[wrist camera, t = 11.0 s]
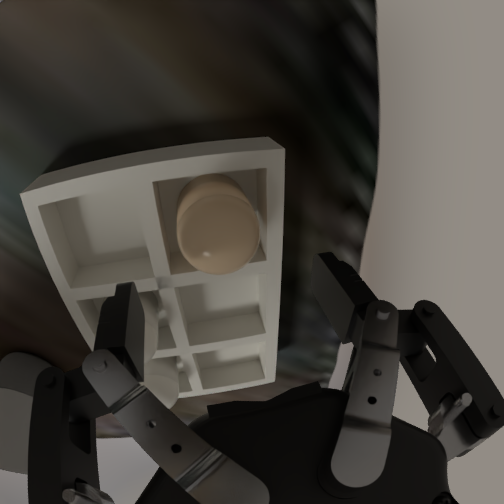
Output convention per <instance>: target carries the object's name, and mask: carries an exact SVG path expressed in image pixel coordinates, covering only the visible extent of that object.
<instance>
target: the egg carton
mask: <svg viewBox="0 0 504 504" xmlns="http://www.w3.org/2000/svg"><path fill="white" fill-rule="evenodd" d="M211 173H216V174H222V175H225V176H228V177H230V178H232V179H233V180H235V181H236V182H237V183H238V184H239V185H240V186H241V188H242V190H243V191H244V193H245V195H246V197H247V199H248V200H249V202H250V204H251V206H252V208H253V209H254V211H255V213H256V215H257V218H258V220H259V224H260V232H261V234H260V242H259V246H258V249H257V251H256V253H255V255H254V256H253V258H252V259H251V260H250V261H249V262H248V263H247V264H246V265H245V266H244V267H243V268H241V269H239V270H238V271H235V272H233V273H230V274H226V275H212V274H207V273H204V272H202V271H200V270H198V269H196V268H195V267H193V266H192V265H191V264H190V263H189V262H188V261H187V260H186V259H185V257H184V256H183V254H182V252H181V250H180V248H179V245H178V240H177V200H178V197H179V194H180V192H181V190H182V189H183V188H184V186H185V185H186V184H187V183H189V182H190V181H191V180H193V179H194V178H196V177H198V176H201V175H204V174H211ZM284 181H285V148H283V147H282V146H281V145H279V144H278V143H276V142H275V141H274V140H272V139H271V138H269V137H257V138H243V139H231V140H220V141H210V142H201V143H193V144H185V145H178V146H171V147H164V148H158V149H152V150H146V151H140V152H135V153H130V154H124V155H119V156H114V157H110V158H105V159H100V160H96V161H92V162H87V163H83V164H79V165H75V166H71V167H67V168H64V169H60V170H56V171H53V172H49V173H46V174H42V175H40V176H39V177H38V178H37V179H36V180H35V181H33V182H32V183H31V184H30V185H29V186H28V187H27V188H26V189H25V190H24V191H22V192H21V193H20V196H21V199H22V202H23V205H24V209H25V212H26V215H27V217H28V220H29V223H30V226H31V229H32V231H33V234H34V237H35V239H36V242H37V244H38V247H39V249H40V252H41V254H42V256H43V259H44V261H45V263H46V266H47V268H48V270H49V272H50V275H51V277H52V279H53V281H54V283H55V285H56V287H57V289H58V291H59V293H60V295H61V297H62V299H63V301H64V303H65V305H66V307H67V309H68V311H69V313H70V314H71V316H72V318H73V320H74V322H75V323H76V325H77V327H78V329H79V330H80V332H81V334H82V335H83V337H84V339H85V340H86V342H87V344H88V345H89V347H90V349H91V350H92V352H93V349H94V343H95V337H96V331H97V326H98V321H99V317H100V311H101V306H102V303H103V299H104V297H109V296H114V295H115V290H116V285H117V284H118V283H125V282H132V281H133V282H134V283H135V285H136V288H137V291H138V293H139V292H146V291H152V292H153V293H154V294H155V296H156V297H157V300H158V305H159V307H158V346H157V350H156V352H155V354H154V356H153V357H152V359H154V358H163V357H171V356H177V369H178V381H179V396H178V398H182V397H190V396H198V395H205V394H212V393H218V392H224V391H230V390H236V389H241V388H246V387H251V386H256V385H261V384H266V383H270V382H275V372H276V358H277V343H278V327H279V310H280V291H281V270H282V246H283V218H284Z"/></svg>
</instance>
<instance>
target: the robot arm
mask: <svg viewBox="0 0 504 504" xmlns="http://www.w3.org/2000/svg"><path fill="white" fill-rule="evenodd" d="M311 289H312V292H313V294H314V296H315V298H316V299H317V301H318V303H319V304H320V306H321V308H322V309H323V311H324V313H325V314H326V316H327V318H328V320H329V321H330V323H331V325H332V326H333V328H334V330H335V332H336V333H337V335H338V337H339V339H340V340H341V342H342V344H346V343H350V342H352V343H353V345H354V347H353V350H352V354H351V358H350V362H349V366H348V370H347V373H346V377H345V381H344V384H343V387H342V390H337V389H331V388H321V387H320V384H319V382H318V381H317V382H313V383H310V384H306V385H302V386H299V387H295V388H292V389H290V390H288V391H286V392H284V393H282V394H280V395H278V396H276V397H274V398H272V399H270V400H268V401H232V402H226V403H220V404H214V405H208V406H207V409H208V413H207V414H204V415H202V416H200V417H198V418H197V419H195V420H194V421H192V422H191V423H190V424H189V425H188V426H187V425H186V424H185V423H183V422H182V421H181V420H180V419H179V418H178V417H177V416H176V415H175V414H173V413H172V412H171V411H170V410H169V409H168V408H167V407H166V406H165V405H164V404H163V403H162V402H161V401H160V400H159V399H158V398H157V397H156V396H155V395H154V394H153V393H152V392H151V391H150V390H149V389H148V388H147V387H145V386H144V385H143V386H142V385H141V384H140V383H139V382H144V337H145V315H144V310H143V306H142V303H141V300H140V297H139V294H138V291H137V288H136V285H135V283H134V282H133V281H132V282H125V283H118V284H117V285H116V290H115V295H114V296H110V297H107V299H106V300H105V301H104V303H103V304H102V306H101V311H100V317H99V321H98V323H99V324H98V326H97V331H96V337H95V343H94V349H93V352H91V353H90V354H89V355H87V357H86V358H85V359H84V361H83V364H82V366H81V367H79V368H77V369H74V370H71V371H68V372H66V373H63V371H62V370H61V369H60V368H58V367H48V368H45V369H44V370H42V371H41V372H40V373H39V375H38V376H37V379H36V382H35V388H34V395H33V402H32V410H31V418H30V429H29V443H28V499H29V504H115V503H114V501H113V500H112V498H111V497H110V496H109V495H108V494H106V493H105V492H103V491H101V490H100V484H99V474H98V463H97V449H96V418H97V417H100V416H103V415H106V414H108V413H111V412H112V414H113V415H114V416H115V417H116V419H117V420H118V421H119V422H120V423H121V425H122V426H123V427H124V428H125V429H126V431H127V432H128V433H129V434H130V435H131V436H132V437H133V438H134V440H135V441H136V442H137V443H138V444H139V445H140V446H141V447H142V448H143V449H144V451H145V452H146V453H147V454H148V455H149V456H150V457H151V458H152V459H153V460H154V461H155V462H156V463H157V464H158V465H159V466H160V467H159V468H158V470H157V471H156V473H155V475H154V476H153V477H152V479H151V481H150V482H149V483H148V485H147V486H146V488H145V489H144V491H143V492H142V494H141V496H140V497H139V498H138V500H137V501H136V503H135V504H459V503H458V502H457V501H456V500H455V499H454V498H453V497H452V495H451V493H450V490H449V486H448V479H447V462H448V461H450V460H451V459H453V458H454V457H461V456H463V455H465V454H466V453H468V452H469V451H471V450H472V449H474V448H475V447H476V446H478V445H479V444H480V443H482V442H483V441H485V440H486V439H487V438H489V437H490V436H491V435H493V434H494V433H495V432H496V431H498V430H499V429H500V428H501V427H502V426H504V399H503V397H502V395H501V394H500V392H499V390H498V389H497V387H496V386H495V384H494V383H493V381H492V379H491V378H490V376H489V375H488V373H487V372H486V370H485V369H484V367H483V366H482V364H481V363H480V361H479V360H478V359H477V357H476V356H475V354H474V353H473V351H472V350H471V349H470V347H469V346H468V344H467V343H466V342H465V340H464V339H463V338H462V336H461V335H460V334H459V332H458V331H457V330H456V328H455V327H454V326H453V324H452V323H451V322H450V321H449V319H448V318H447V317H446V315H445V314H444V313H443V312H442V310H441V309H440V308H439V307H438V306H437V305H436V304H435V303H433V302H431V301H427V300H421V301H418V302H417V303H416V304H415V306H414V308H413V310H397V308H396V307H395V306H394V305H393V304H391V303H390V302H387V301H384V300H378V298H377V297H376V296H375V295H374V293H373V292H372V291H371V290H370V288H369V287H368V286H367V285H366V283H365V282H364V281H362V278H361V277H360V276H359V275H358V274H357V272H356V271H355V270H354V269H353V267H352V266H350V265H349V264H347V263H346V262H344V261H339V260H338V259H337V258H336V257H335V255H334V254H333V253H332V252H326V253H319V254H315V255H314V258H313V266H312V274H311ZM426 345H428V346H429V348H430V349H431V350H432V352H433V354H434V355H435V358H436V362H435V361H434V359H433V357H432V356H431V354H430V353H429V351H428V350H427V348H426ZM399 361H400V362H401V364H402V366H403V368H404V369H405V371H406V373H407V375H408V376H409V378H410V380H411V382H412V384H413V385H414V387H415V389H416V391H417V392H418V394H419V396H420V398H421V400H422V402H423V404H424V405H425V407H426V409H427V411H428V413H429V415H430V416H429V418H428V426H429V428H428V432H426V431H424V430H422V429H420V428H418V427H416V426H413V425H411V424H409V423H407V422H405V421H403V420H401V419H399V418H397V417H394V416H392V412H393V406H394V399H395V393H396V385H397V378H398V369H399Z"/></svg>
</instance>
